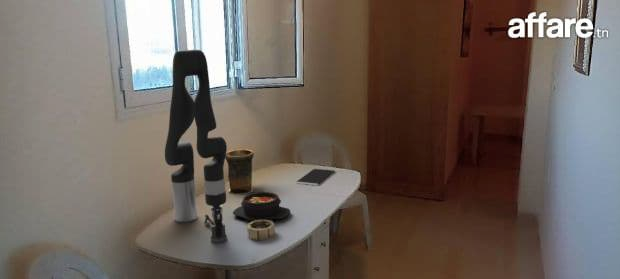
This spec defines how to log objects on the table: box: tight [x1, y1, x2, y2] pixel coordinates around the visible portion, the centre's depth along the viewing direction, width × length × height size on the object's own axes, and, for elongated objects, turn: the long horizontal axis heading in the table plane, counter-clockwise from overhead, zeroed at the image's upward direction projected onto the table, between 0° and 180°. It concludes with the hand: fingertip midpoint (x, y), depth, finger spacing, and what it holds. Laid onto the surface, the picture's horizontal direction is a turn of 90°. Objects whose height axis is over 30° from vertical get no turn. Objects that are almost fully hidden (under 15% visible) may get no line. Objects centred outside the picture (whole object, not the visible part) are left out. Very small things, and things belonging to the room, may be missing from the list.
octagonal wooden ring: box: [246, 219, 276, 241], centre depth 168 cm, size 10×10×4 cm
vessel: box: [225, 149, 255, 196], centre depth 220 cm, size 14×14×20 cm
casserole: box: [232, 191, 291, 221], centre depth 186 cm, size 25×19×8 cm
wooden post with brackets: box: [203, 214, 214, 227], centre depth 177 cm, size 2×8×4 cm, turn 49°
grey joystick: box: [210, 222, 228, 244], centre depth 164 cm, size 6×6×6 cm
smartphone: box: [295, 168, 336, 187], centre depth 239 cm, size 13×27×2 cm, turn 157°
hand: (218, 233), depth 164 cm, fingers open, 4 cm apart
